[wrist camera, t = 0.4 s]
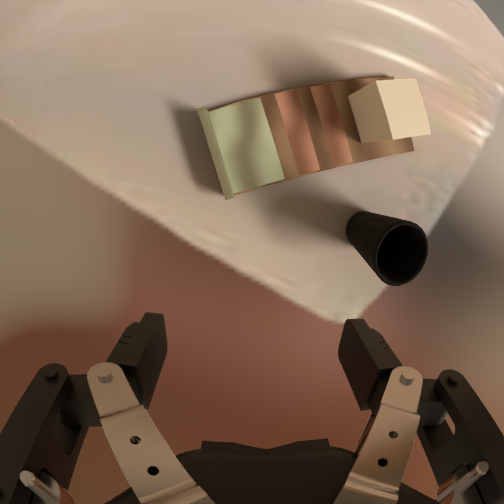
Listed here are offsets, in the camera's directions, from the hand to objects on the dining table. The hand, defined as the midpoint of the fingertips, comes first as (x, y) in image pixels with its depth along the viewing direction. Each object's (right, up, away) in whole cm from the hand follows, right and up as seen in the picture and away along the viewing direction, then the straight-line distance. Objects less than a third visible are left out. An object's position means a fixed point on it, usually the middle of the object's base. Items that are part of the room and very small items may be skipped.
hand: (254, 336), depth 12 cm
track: (+9, +21, +23) cm, 32 cm away
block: (+17, +23, +21) cm, 36 cm away
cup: (+16, +7, +28) cm, 33 cm away
